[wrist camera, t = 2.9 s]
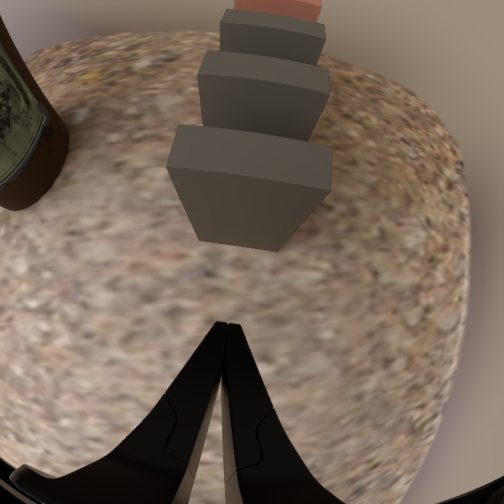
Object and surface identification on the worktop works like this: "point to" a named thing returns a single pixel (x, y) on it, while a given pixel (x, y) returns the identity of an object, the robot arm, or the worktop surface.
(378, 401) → the worktop surface
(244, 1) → the domino
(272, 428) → the robot arm
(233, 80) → the domino
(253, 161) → the domino
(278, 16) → the domino
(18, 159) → the olive oil
